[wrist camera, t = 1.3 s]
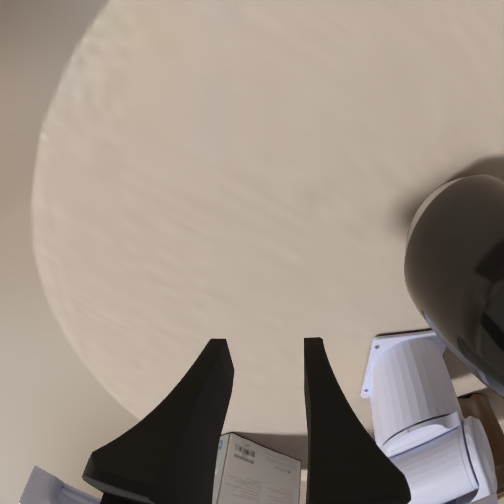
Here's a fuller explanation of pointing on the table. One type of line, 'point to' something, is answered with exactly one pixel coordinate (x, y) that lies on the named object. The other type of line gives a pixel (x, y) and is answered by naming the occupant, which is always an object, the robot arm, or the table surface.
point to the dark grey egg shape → (462, 272)
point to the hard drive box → (254, 474)
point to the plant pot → (488, 432)
